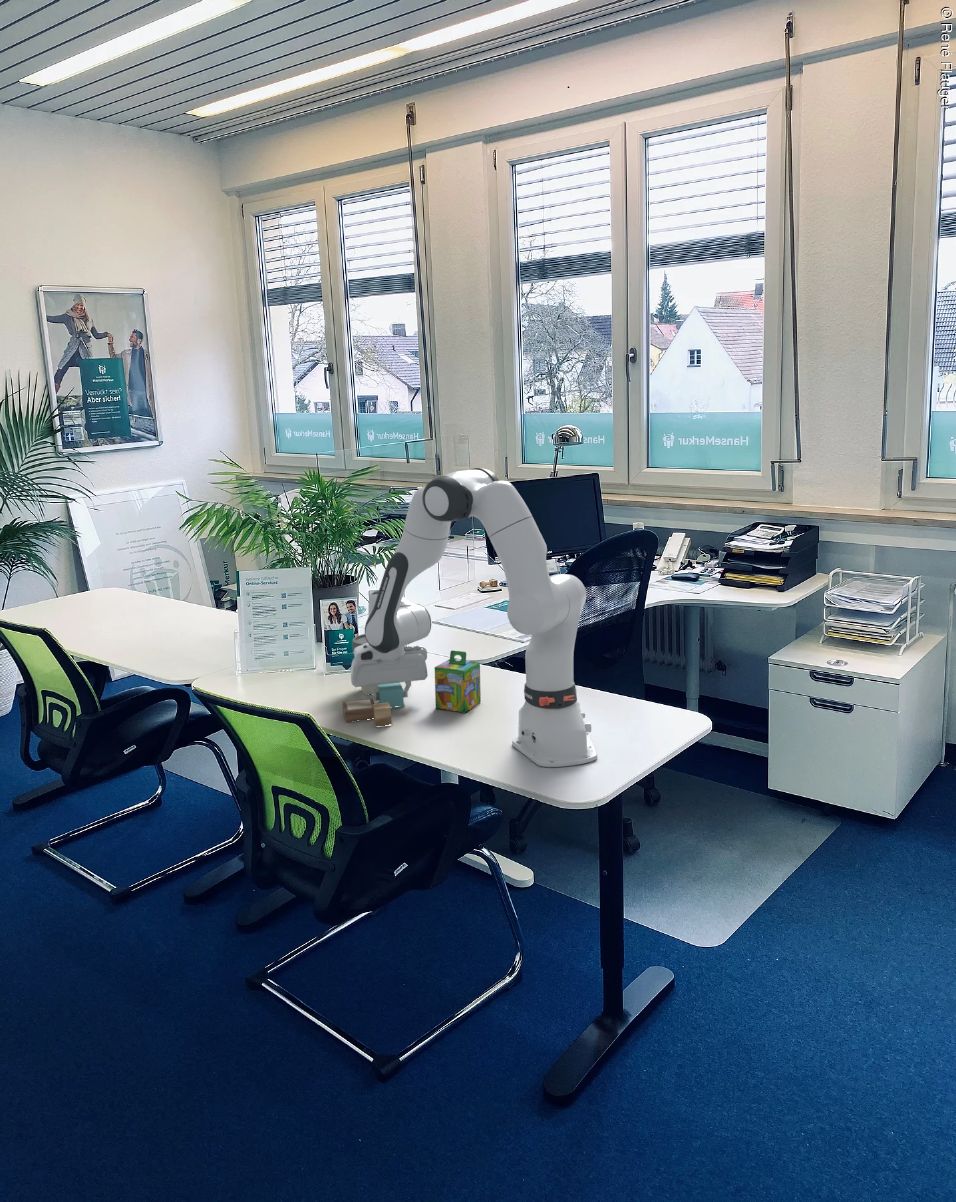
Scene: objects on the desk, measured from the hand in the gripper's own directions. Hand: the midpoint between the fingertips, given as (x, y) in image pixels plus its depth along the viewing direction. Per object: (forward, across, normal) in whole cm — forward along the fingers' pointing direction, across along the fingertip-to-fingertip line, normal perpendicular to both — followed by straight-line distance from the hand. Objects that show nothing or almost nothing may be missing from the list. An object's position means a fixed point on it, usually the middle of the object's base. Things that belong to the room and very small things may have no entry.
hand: (390, 698), depth 256 cm
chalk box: (+2, -17, +7) cm, 18 cm away
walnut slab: (+2, +9, +6) cm, 11 cm away
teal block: (+2, 0, 0) cm, 2 cm away
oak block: (+2, +4, +14) cm, 15 cm away
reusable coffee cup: (+2, +2, -13) cm, 13 cm away
